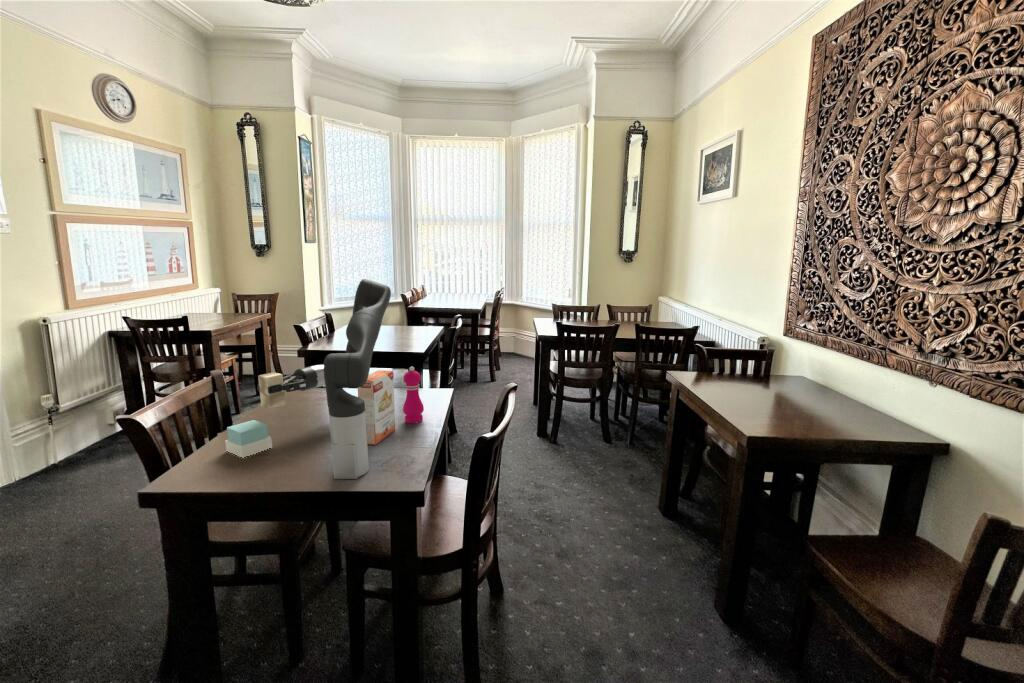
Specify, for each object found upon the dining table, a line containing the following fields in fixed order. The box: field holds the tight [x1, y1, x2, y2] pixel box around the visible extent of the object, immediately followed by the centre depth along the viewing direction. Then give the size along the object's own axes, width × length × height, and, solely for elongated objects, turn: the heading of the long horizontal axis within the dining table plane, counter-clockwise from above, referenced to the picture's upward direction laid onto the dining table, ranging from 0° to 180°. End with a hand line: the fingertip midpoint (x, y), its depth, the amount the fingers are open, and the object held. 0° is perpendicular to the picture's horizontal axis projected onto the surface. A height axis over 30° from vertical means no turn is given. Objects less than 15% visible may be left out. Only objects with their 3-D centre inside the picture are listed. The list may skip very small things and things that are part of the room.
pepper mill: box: [402, 366, 425, 424], centre depth 166 cm, size 7×7×20 cm
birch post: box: [257, 371, 286, 410], centre depth 147 cm, size 5×5×10 cm
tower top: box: [226, 419, 269, 446], centre depth 142 cm, size 8×8×4 cm
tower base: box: [224, 435, 273, 459], centre depth 143 cm, size 9×9×4 cm
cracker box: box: [357, 369, 396, 446], centre depth 152 cm, size 14×6×21 cm, turn 168°
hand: (263, 389), depth 145 cm, fingers closed on birch post, 5 cm apart
